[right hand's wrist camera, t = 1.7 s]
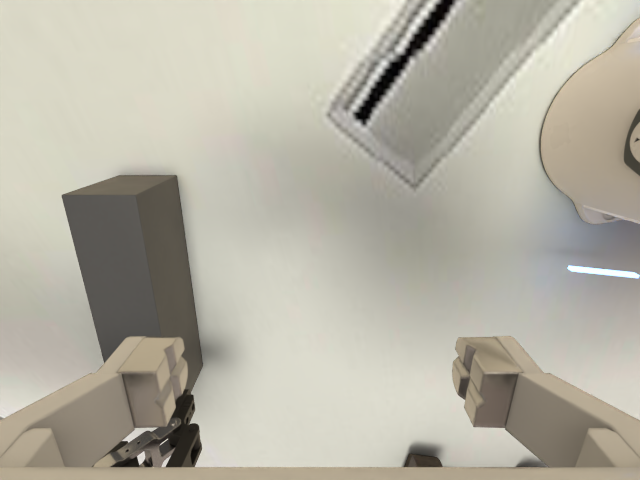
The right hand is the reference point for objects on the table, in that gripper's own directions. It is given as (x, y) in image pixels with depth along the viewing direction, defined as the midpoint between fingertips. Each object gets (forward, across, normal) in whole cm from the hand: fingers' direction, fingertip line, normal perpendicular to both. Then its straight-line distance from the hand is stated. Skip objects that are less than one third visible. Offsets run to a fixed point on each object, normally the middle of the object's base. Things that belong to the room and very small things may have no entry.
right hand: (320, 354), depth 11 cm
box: (+27, -18, -11) cm, 34 cm away
